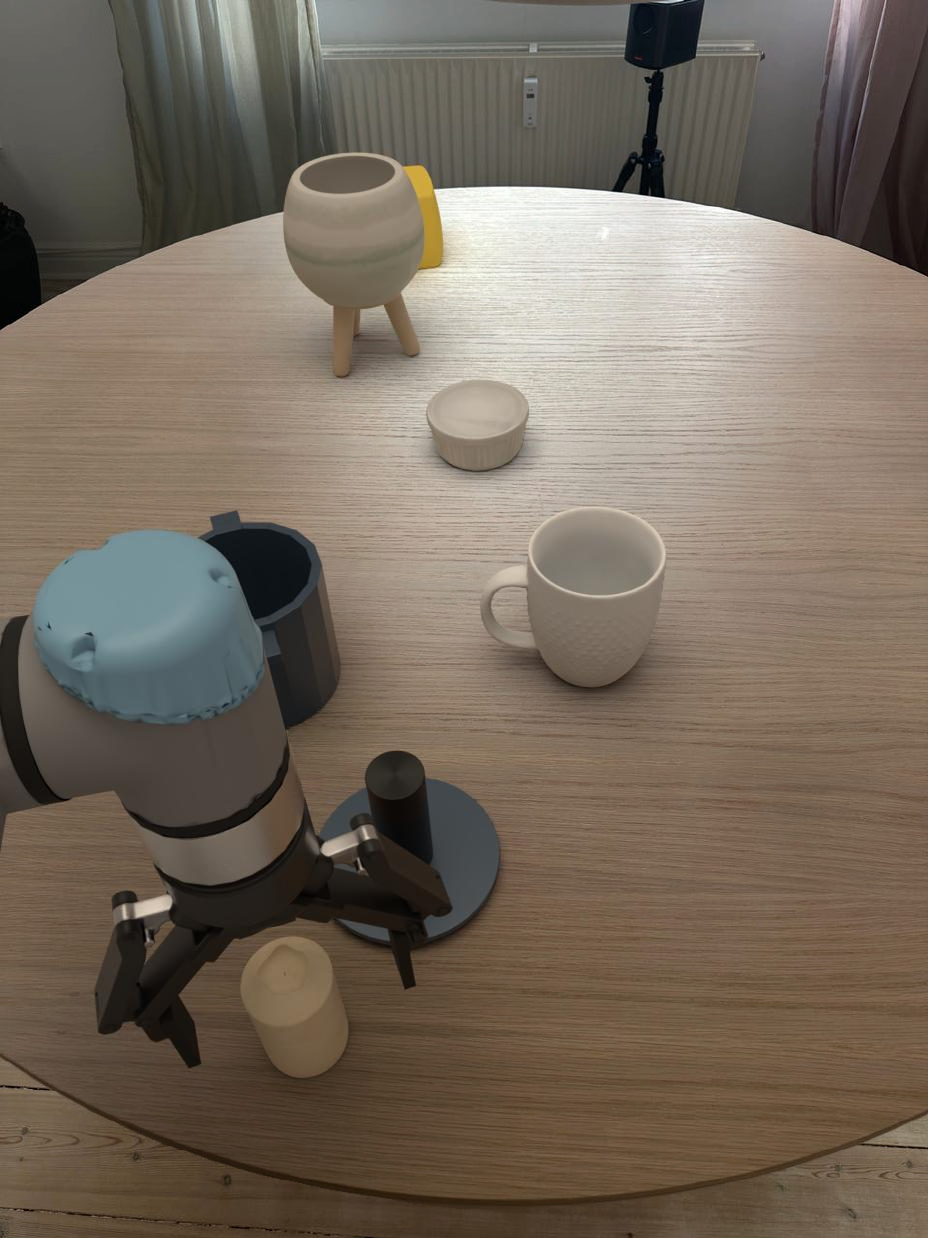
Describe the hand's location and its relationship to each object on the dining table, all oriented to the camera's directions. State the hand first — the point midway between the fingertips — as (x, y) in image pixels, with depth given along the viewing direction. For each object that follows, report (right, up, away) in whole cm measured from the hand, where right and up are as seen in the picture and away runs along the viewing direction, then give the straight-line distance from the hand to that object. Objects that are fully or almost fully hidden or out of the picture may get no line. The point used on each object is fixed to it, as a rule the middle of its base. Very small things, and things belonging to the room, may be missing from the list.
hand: (300, 1006), depth 61 cm
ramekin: (+12, +43, +48) cm, 66 cm away
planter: (-2, +58, +63) cm, 85 cm away
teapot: (+1, +77, +82) cm, 113 cm away
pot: (-7, +19, +25) cm, 33 cm away
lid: (+6, +7, +12) cm, 15 cm away
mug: (+20, +21, +26) cm, 39 cm away
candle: (0, -3, +3) cm, 5 cm away
